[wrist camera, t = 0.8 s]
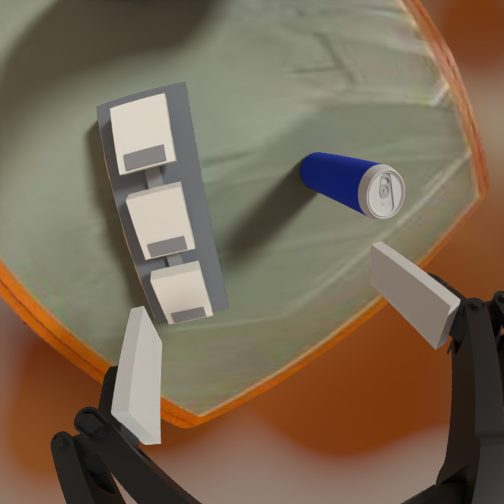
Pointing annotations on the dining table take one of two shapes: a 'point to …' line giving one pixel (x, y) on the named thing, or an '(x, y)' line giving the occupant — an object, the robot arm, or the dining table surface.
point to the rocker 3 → (182, 292)
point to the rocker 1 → (142, 134)
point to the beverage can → (355, 183)
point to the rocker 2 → (161, 220)
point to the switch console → (159, 176)
